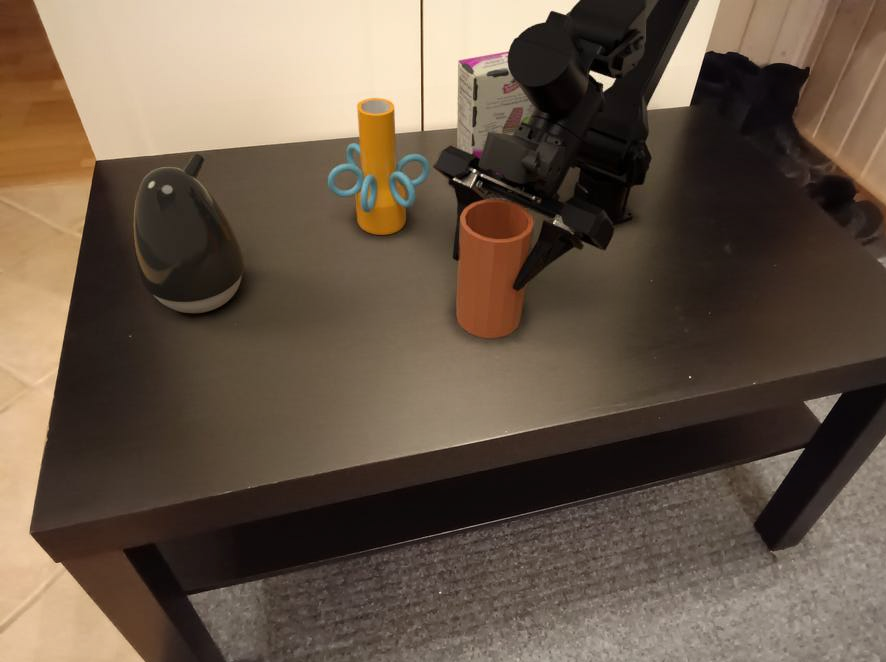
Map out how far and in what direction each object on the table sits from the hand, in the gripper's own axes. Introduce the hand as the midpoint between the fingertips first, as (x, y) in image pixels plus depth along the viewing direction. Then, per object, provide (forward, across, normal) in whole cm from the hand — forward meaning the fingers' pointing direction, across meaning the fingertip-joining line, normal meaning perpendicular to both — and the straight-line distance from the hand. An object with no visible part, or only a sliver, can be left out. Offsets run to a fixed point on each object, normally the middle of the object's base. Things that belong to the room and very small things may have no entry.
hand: (484, 274), depth 70 cm
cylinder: (0, -20, +10) cm, 22 cm away
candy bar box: (-12, -14, +22) cm, 29 cm away
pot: (+4, 0, +6) cm, 7 cm away
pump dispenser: (+16, -26, -6) cm, 31 cm away
